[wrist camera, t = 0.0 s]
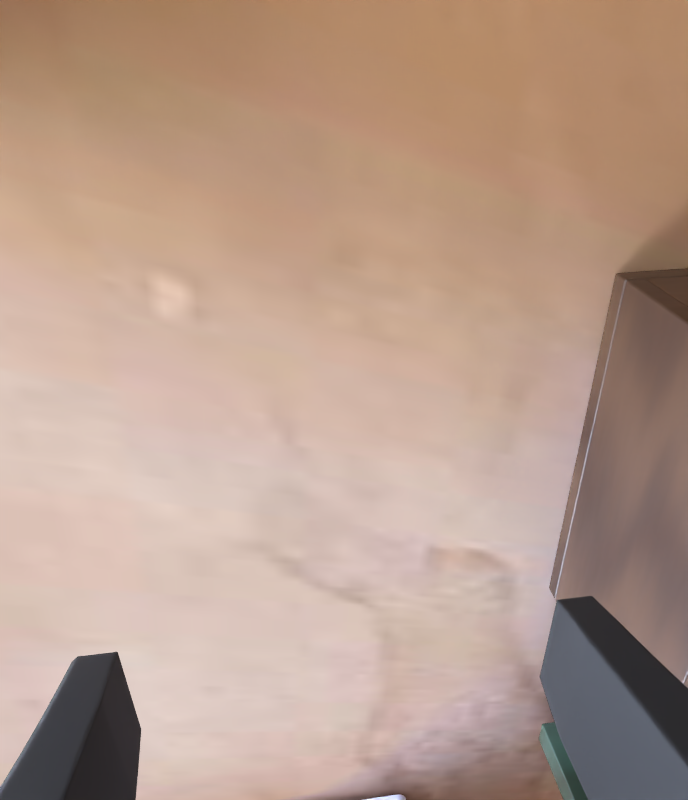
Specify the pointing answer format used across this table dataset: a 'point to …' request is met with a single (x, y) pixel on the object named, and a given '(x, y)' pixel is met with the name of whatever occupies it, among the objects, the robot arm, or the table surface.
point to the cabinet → (635, 471)
